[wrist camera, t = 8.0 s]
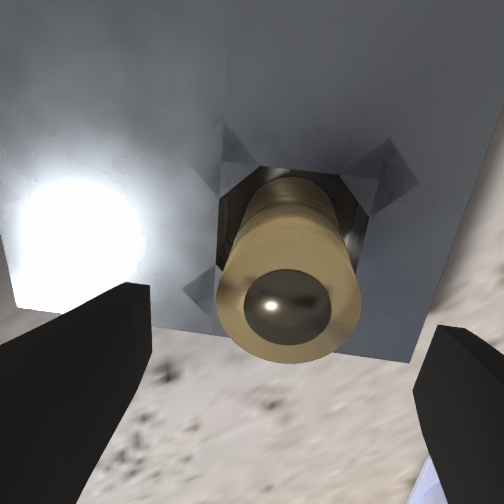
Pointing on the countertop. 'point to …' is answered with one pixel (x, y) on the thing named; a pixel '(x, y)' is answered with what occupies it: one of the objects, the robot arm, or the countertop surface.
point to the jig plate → (239, 142)
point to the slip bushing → (289, 276)
